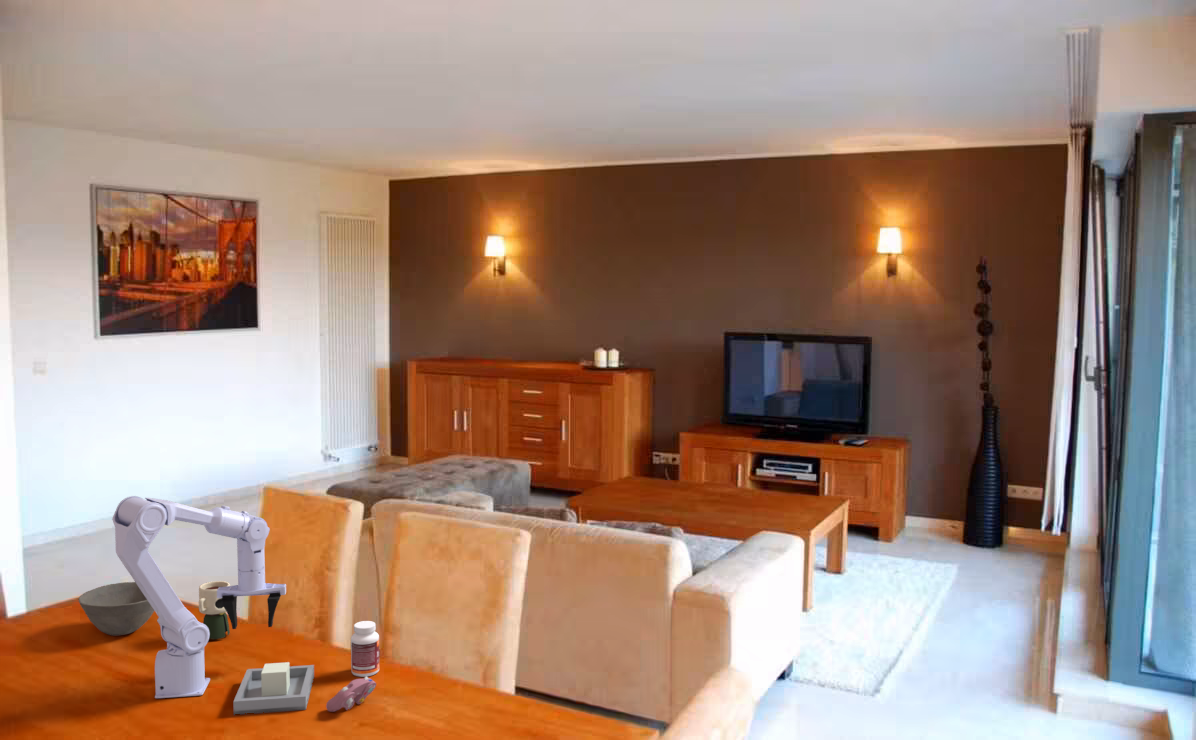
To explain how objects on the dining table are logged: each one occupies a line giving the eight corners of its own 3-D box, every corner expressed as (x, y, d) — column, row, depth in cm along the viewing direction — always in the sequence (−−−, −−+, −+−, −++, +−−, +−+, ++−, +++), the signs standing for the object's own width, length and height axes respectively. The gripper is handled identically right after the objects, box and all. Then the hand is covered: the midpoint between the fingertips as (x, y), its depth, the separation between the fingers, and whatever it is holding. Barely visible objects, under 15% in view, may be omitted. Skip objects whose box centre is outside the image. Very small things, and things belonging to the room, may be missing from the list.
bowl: (142, 647, 223) (141, 606, 222) (64, 646, 223) (62, 605, 222) (178, 619, 241) (177, 581, 240) (106, 617, 242) (104, 580, 241)
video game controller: (337, 723, 189) (347, 697, 187) (322, 708, 191) (333, 682, 189) (372, 704, 198) (383, 679, 196) (358, 690, 200) (368, 665, 198)
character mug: (213, 646, 223) (211, 594, 222) (188, 643, 225) (186, 590, 224) (242, 630, 234) (241, 580, 233) (218, 627, 236) (217, 577, 235)
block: (261, 696, 196) (261, 673, 195) (265, 686, 201) (264, 663, 200) (286, 694, 197) (286, 671, 196) (289, 684, 201) (289, 662, 201)
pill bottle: (383, 673, 209) (383, 626, 208) (356, 680, 206) (356, 631, 205) (373, 664, 215) (373, 617, 214) (347, 670, 211) (346, 622, 210)
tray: (233, 714, 189) (233, 701, 189) (247, 681, 205) (247, 669, 204) (305, 709, 192) (305, 696, 191) (314, 677, 207) (313, 664, 207)
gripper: (287, 561, 216) (288, 618, 217) (220, 564, 213) (222, 621, 214) (283, 570, 209) (284, 629, 210) (214, 573, 206) (215, 633, 207)
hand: (252, 626), depth 212 cm, fingers open, 7 cm apart
